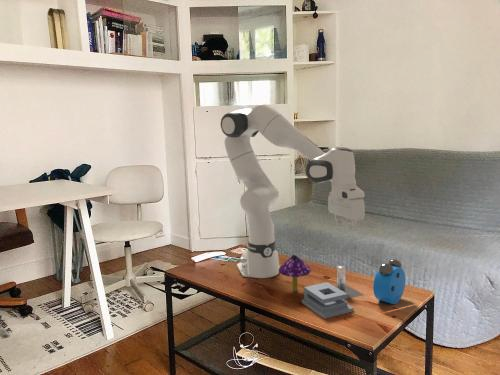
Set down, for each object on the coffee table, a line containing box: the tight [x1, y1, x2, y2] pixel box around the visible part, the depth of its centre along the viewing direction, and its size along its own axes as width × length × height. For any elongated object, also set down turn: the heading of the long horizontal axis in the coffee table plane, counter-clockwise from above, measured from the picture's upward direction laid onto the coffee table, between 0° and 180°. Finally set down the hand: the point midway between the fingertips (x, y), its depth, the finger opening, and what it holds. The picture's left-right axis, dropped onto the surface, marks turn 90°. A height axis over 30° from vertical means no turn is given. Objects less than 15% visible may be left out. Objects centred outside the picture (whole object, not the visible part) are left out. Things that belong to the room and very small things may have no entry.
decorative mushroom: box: [279, 254, 312, 293], centre depth 154 cm, size 12×12×15 cm
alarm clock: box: [372, 258, 406, 305], centre depth 143 cm, size 13×6×15 cm, turn 135°
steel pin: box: [336, 265, 346, 292], centre depth 152 cm, size 3×3×10 cm
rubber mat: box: [334, 283, 365, 301], centre depth 153 cm, size 12×12×1 cm
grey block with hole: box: [301, 282, 355, 320], centre depth 140 cm, size 14×12×6 cm
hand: (346, 228), depth 149 cm, fingers open, 8 cm apart
